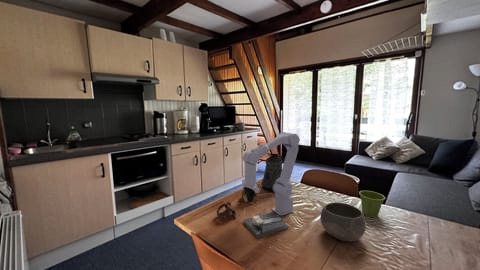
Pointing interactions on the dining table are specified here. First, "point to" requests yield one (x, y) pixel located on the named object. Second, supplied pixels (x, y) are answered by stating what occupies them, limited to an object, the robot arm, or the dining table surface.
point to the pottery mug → (228, 210)
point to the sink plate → (266, 228)
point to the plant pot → (371, 203)
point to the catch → (257, 220)
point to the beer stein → (272, 171)
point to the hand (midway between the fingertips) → (250, 201)
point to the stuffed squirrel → (244, 197)
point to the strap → (269, 221)
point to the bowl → (343, 221)
